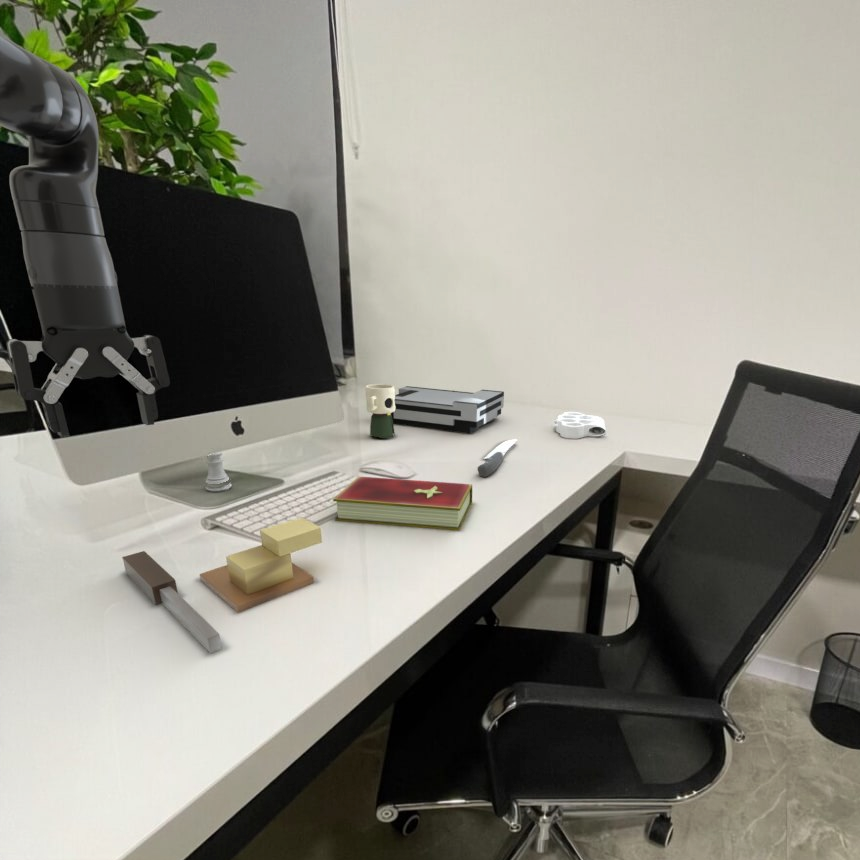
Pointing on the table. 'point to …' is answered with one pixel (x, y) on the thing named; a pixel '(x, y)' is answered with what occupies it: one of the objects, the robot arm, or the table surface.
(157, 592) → the butter knife
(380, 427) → the character mug
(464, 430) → the game console
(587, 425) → the white dimpled palette
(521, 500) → the table surface
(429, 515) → the hardcover book
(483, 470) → the kitchen knife
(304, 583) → the butter board
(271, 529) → the butter pat
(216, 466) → the rook chess piece
